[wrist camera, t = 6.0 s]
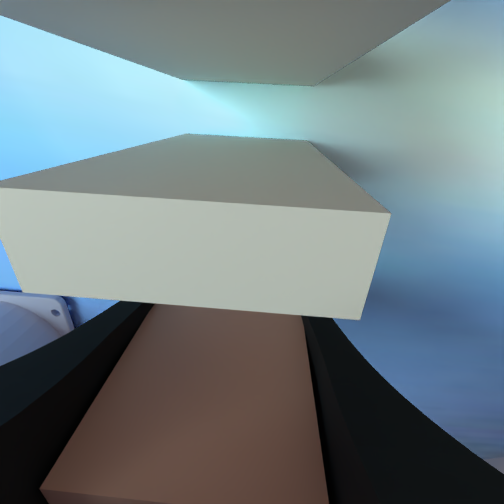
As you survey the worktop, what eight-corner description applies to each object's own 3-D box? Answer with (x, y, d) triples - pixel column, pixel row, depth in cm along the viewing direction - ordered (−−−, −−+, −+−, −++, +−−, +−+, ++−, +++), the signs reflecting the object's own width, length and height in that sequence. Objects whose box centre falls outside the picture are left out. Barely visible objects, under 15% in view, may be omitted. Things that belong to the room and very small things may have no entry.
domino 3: (313, 86, 10) (457, -4, 2) (182, 79, 10) (-107, -24, 2) (320, 32, 10) (565, -372, 2) (179, 27, 10) (-244, -357, 2)
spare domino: (290, 288, 13) (316, 557, 5) (188, 280, 13) (64, 527, 5) (294, 259, 12) (331, 520, 5) (186, 251, 13) (39, 488, 5)
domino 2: (301, 180, 12) (359, 319, 4) (188, 172, 12) (22, 292, 4) (306, 140, 11) (391, 214, 3) (185, 133, 11) (-22, 186, 3)
